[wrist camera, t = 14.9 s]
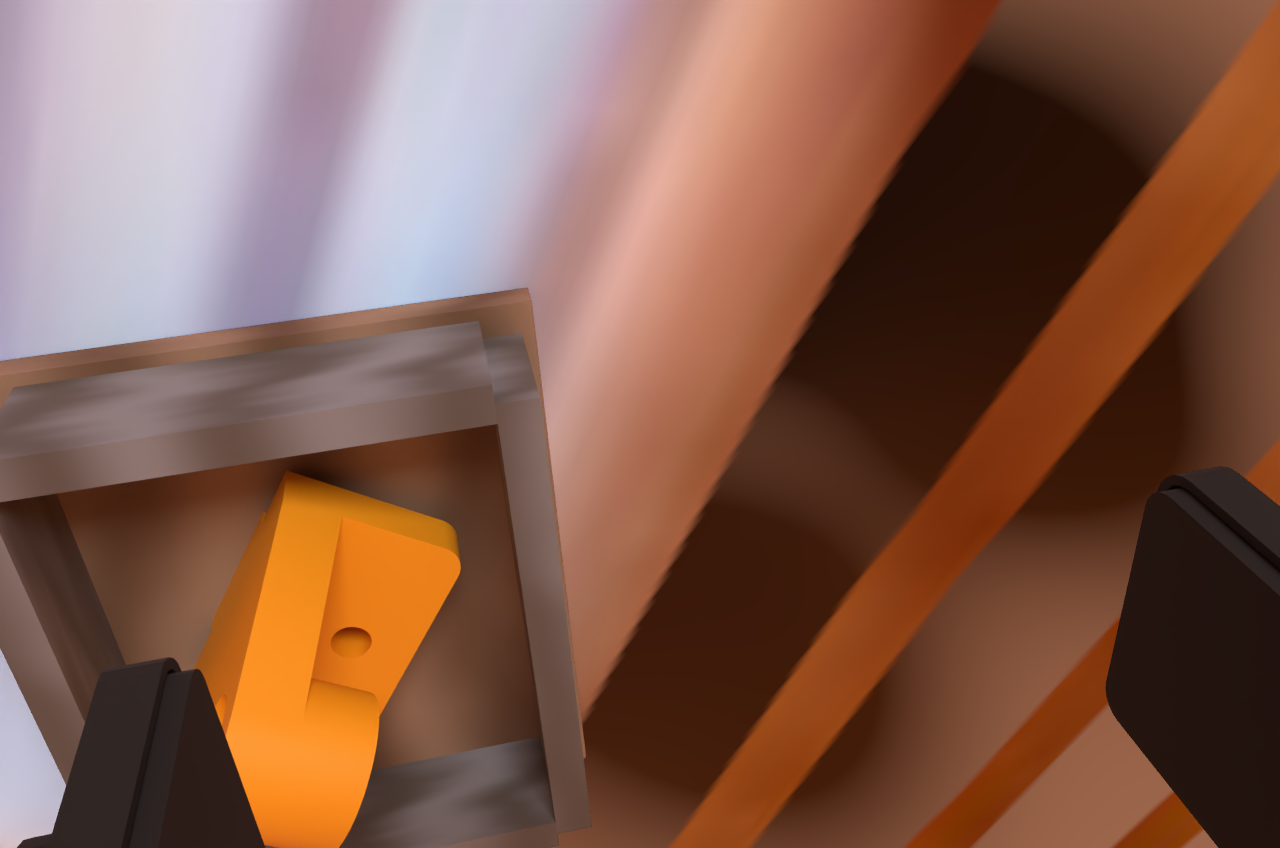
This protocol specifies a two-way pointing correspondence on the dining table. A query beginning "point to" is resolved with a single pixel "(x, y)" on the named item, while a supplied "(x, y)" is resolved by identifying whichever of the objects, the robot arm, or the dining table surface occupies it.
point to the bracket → (320, 649)
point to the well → (243, 489)
